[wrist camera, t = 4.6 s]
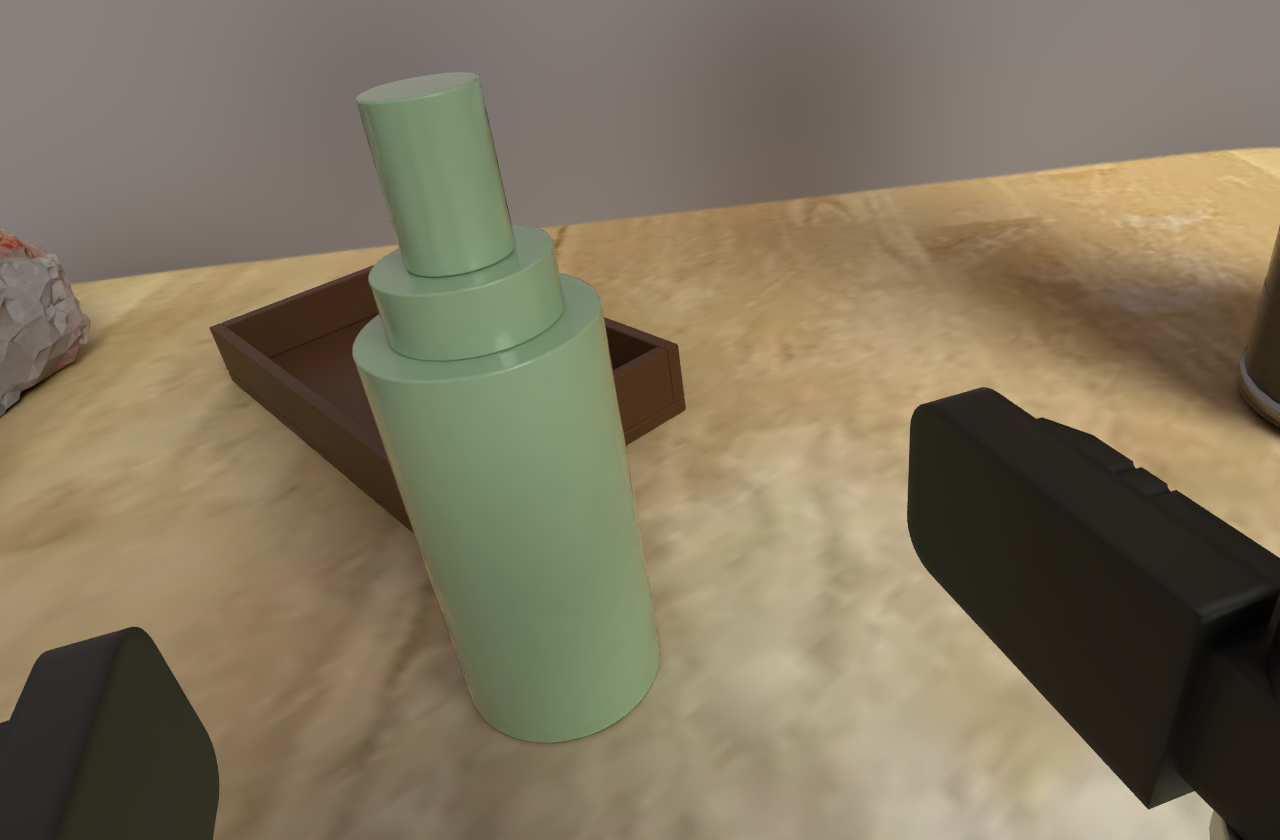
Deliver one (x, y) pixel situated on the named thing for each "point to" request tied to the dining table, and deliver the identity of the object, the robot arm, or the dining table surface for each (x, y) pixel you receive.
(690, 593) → the dining table surface
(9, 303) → the grey rough block
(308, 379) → the tray
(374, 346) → the sage bottle
